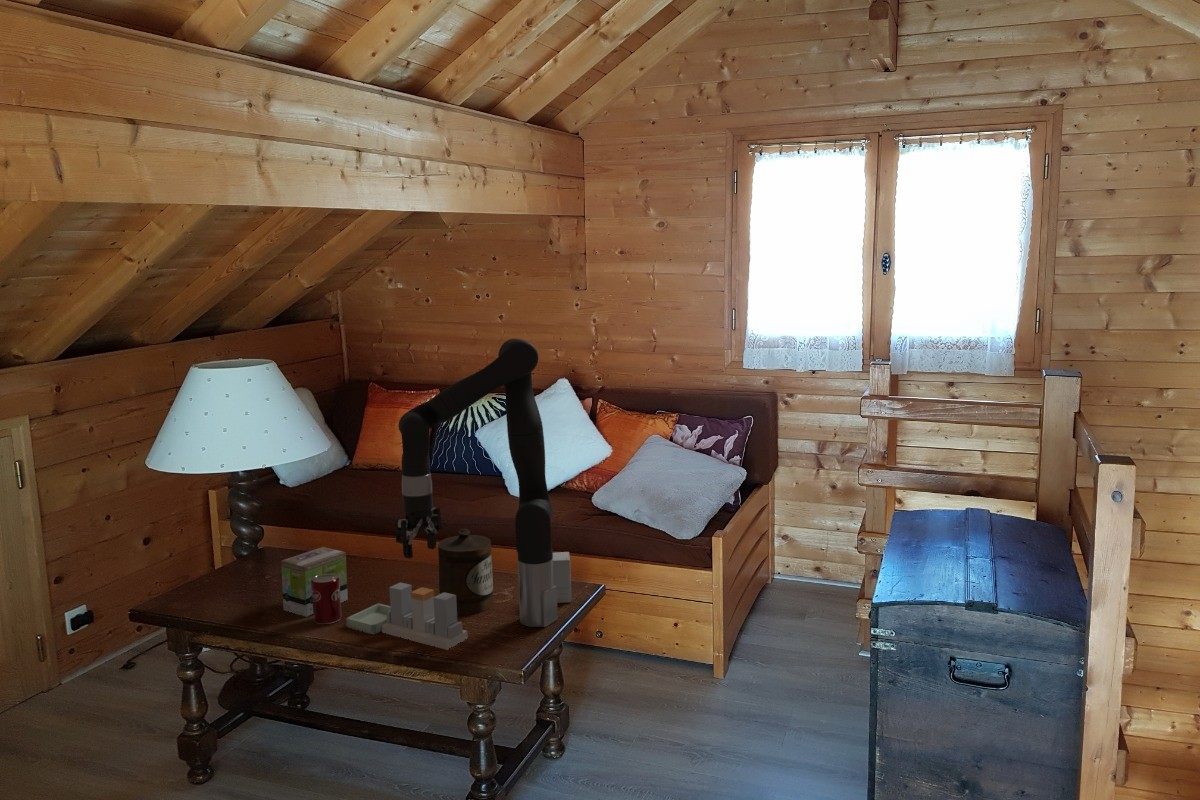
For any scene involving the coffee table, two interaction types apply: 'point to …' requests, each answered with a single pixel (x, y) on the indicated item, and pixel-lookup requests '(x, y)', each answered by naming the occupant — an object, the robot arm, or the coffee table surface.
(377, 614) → the tray
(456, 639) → the block
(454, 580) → the wooden container
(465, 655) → the coffee table surface
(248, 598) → the coffee table surface
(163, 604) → the coffee table surface
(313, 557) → the tea box
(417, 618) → the block
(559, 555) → the supplement box
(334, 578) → the soda can
